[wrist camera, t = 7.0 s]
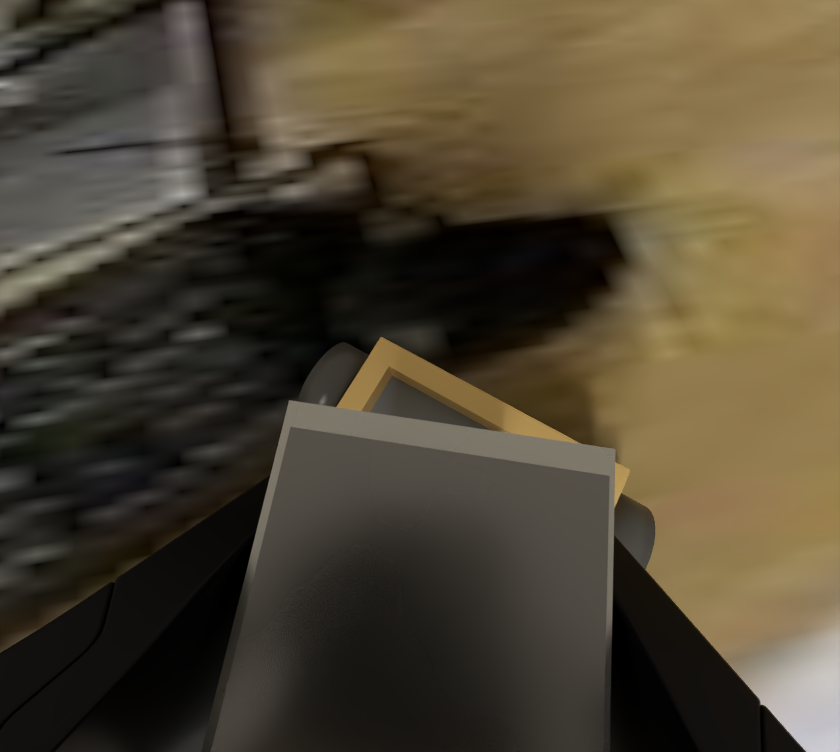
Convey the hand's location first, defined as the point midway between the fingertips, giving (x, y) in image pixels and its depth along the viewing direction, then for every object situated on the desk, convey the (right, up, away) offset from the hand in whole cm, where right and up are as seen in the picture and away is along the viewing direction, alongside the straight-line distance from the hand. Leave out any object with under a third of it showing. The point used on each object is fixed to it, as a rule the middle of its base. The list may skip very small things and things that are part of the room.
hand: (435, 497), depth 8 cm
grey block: (0, -3, +6) cm, 7 cm away
